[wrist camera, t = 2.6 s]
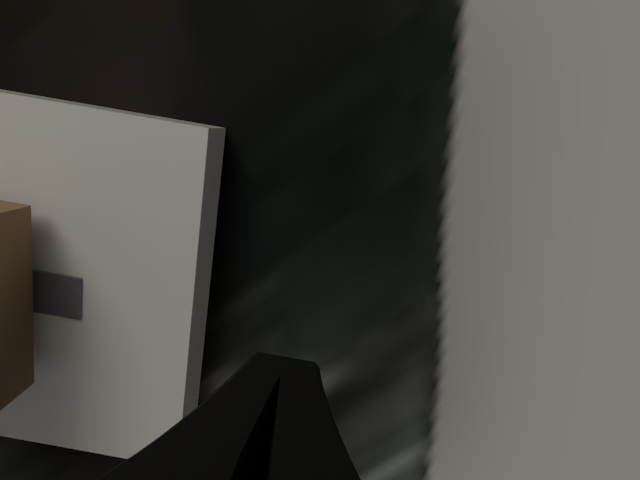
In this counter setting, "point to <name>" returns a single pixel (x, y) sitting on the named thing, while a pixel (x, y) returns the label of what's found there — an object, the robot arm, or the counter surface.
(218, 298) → the counter surface
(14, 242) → the slider cap
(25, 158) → the fader console
